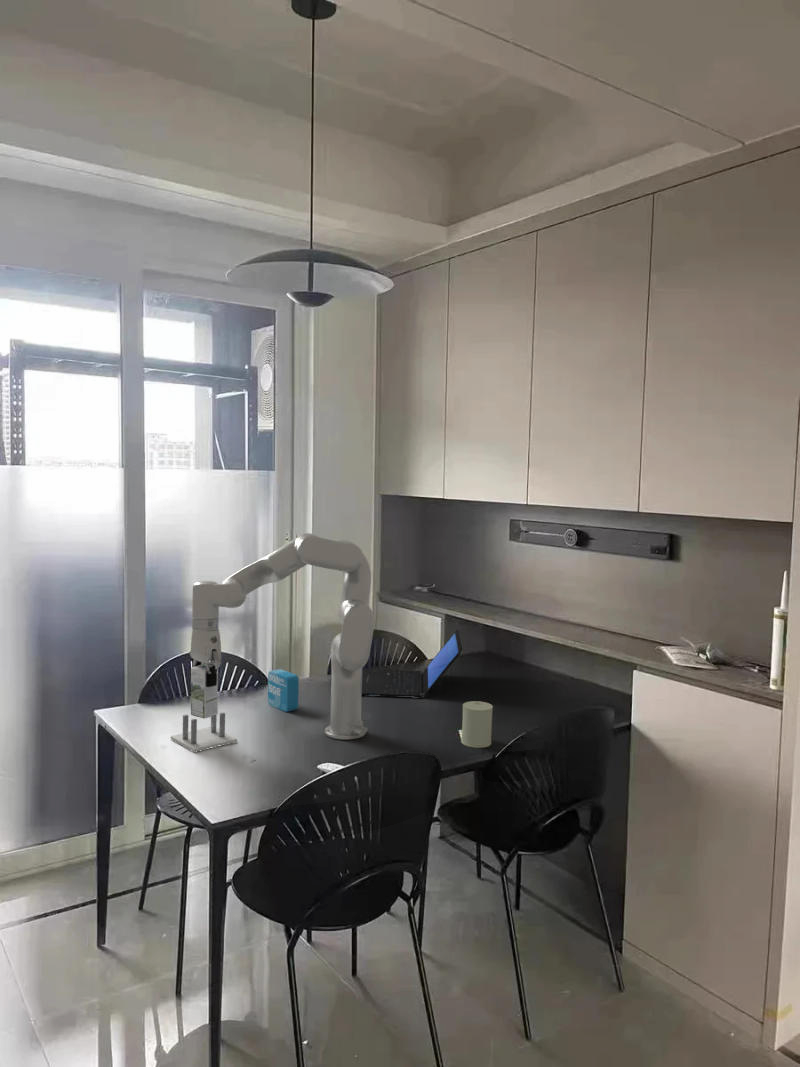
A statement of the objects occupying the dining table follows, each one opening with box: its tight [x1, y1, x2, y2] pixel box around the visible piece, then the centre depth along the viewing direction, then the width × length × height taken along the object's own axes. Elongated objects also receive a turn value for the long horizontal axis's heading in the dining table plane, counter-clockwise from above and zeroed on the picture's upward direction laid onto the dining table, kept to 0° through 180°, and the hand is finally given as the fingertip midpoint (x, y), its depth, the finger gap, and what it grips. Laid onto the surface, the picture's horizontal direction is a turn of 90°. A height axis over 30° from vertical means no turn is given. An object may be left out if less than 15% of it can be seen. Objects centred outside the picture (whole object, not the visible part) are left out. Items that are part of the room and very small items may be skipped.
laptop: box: [362, 629, 463, 698], centre depth 298 cm, size 33×38×19 cm
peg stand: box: [170, 712, 238, 753], centre depth 233 cm, size 14×14×8 cm
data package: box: [267, 668, 300, 713], centre depth 267 cm, size 12×4×12 cm, turn 43°
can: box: [460, 700, 494, 749], centre depth 239 cm, size 9×9×12 cm
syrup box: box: [190, 663, 219, 719], centre depth 232 cm, size 6×6×14 cm
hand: (204, 682), depth 232 cm, fingers closed on syrup box, 6 cm apart
